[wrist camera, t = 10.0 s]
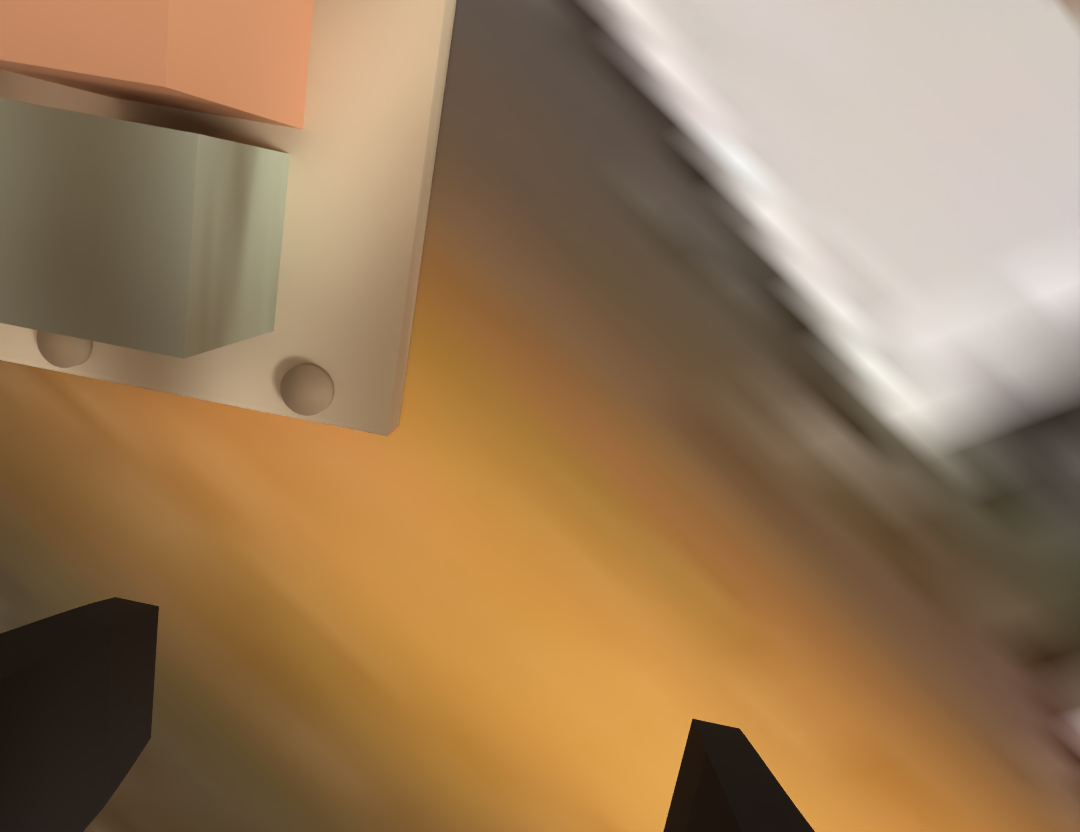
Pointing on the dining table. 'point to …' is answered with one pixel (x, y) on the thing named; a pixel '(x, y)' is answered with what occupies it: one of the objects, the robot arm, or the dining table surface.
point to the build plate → (325, 229)
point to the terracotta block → (168, 52)
